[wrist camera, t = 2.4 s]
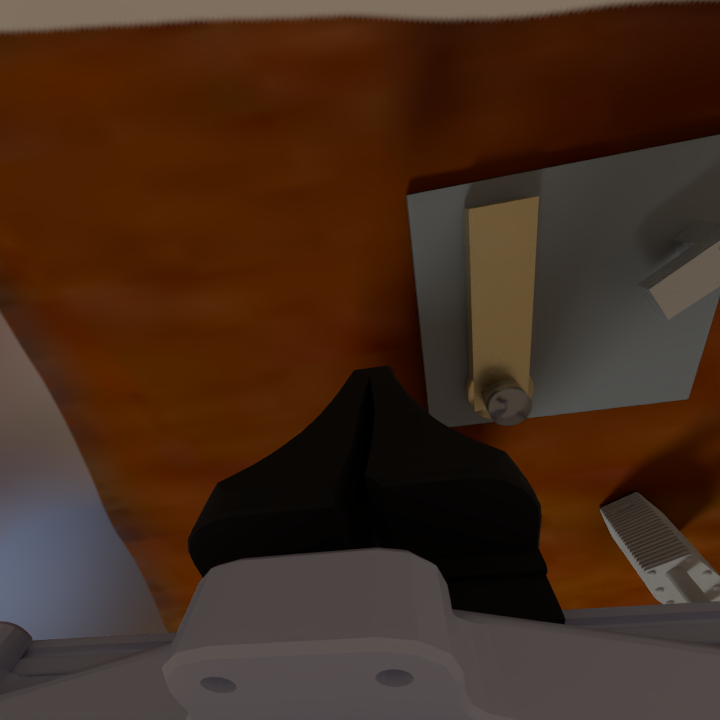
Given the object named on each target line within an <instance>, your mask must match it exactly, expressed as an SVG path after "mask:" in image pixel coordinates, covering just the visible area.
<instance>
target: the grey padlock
mask: <svg viewBox="0 0 720 720" xmlns="http://www.w3.org/2000/svg"><path fill="white" fill-rule="evenodd" d="M600 512H601V514H602V516H603V518H604V520H605V523H606V525H607V527H608V529H609V531H610V533H611V535H612V537H613V539H614V540H615V541H616V543H617V544H618V546H619V547H620V549H621V550H622V552H623V553H624V554H625V556H626V557H627V559H628V560H629V562H630V563H631V564H632V565H633V567H634V568H635V570H636V571H637V573H638V574H639V575H640V577H641V578H642V580H643V581H644V583H645V584H646V586H647V587H648V589H649V590H650V591H651V593H652V594H653V596H654V597H655V598H656V599H657V600H658V601H660V602H661V603H662V604H677V603H695V602H712V601H720V576H719V574H718V573H717V572H716V571H715V570H714V569H713V567H712V566H710V564H709V563H708V562H707V561H706V560H705V559H704V558H703V557H702V556H701V554H700V553H698V551H697V550H696V549H695V548H694V547H693V545H692V544H690V542H689V541H688V540H687V539H686V538H685V537H684V536H683V534H682V533H680V531H679V530H678V529H677V528H676V527H675V526H674V525H673V524H672V523H671V521H670V520H669V519H668V518H667V517H666V516H665V515H664V514H663V513H662V512H661V511H660V510H658V509H657V508H656V507H655V506H654V505H652V504H651V503H650V502H649V501H648V500H646V499H645V498H644V497H643V496H642V495H640V494H639V493H638V492H634V493H632V494H630V495H628V496H625V497H623V498H621V499H619V500H616V501H614V502H612V503H610V504H608V505H605V506H603V507H601V508H600Z"/></svg>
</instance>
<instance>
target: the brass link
mask: <svg viewBox="0 0 720 720" xmlns="http://www.w3.org/2000/svg"><path fill="white" fill-rule="evenodd" d="M538 206H539V196H527V197H522V198H516V199H511V200H506V201H500V202H495V203H490V204H484V205H479V206H474V207H468V208H463V218H464V245H465V273H466V300H467V328H468V355H469V375H468V377H467V379H466V382H465V394H466V396H467V398H468V401H469V403H470V405H471V407H472V409H473V410H474V411H475V412H476V413H477V414H478V415H480V416H482V417H484V418H488V419H492V418H491V417H490V415H489V413H488V411H487V409H486V407H485V405H484V403H483V395H484V392H485V391H486V389H487V388H488V387H489V386H490V385H491V384H493V383H495V382H497V381H500V380H512V381H515V382H517V383H518V384H519V385H520V386H521V387H522V388H523V390H524V391H525V392H526V394H527V395H528V396H529V397H530V399H532V396H533V393H534V384H533V381H532V379H531V377H530V376H529V370H530V352H531V334H532V315H533V297H534V279H535V260H536V242H537V224H538Z"/></svg>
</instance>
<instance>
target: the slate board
mask: <svg viewBox="0 0 720 720" xmlns="http://www.w3.org/2000/svg"><path fill="white" fill-rule="evenodd" d="M527 196H539V206H538V224H537V242H536V260H535V279H534V297H533V315H532V334H531V352H530V370H529V376H530V377H531V379H532V381H533V384H534V393H533V396H532V399H531V401H532V411H531V413H530V414H529V416H528V417H527V418H532V417H540V416H549V415H557V414H565V413H574V412H582V411H591V410H599V409H608V408H616V407H625V406H633V405H642V404H650V403H659V402H667V401H676V400H684V399H688V398H689V395H690V391H691V388H692V385H693V382H694V378H695V375H696V372H697V369H698V365H699V362H700V359H701V356H702V352H703V349H704V346H705V343H706V339H707V336H708V333H709V330H710V326H711V323H712V320H713V317H714V313H715V310H716V307H717V304H718V300H719V297H720V287H718V288H717V289H715V290H714V291H712V292H710V293H709V294H707V295H706V296H704V297H703V298H701V299H700V300H698V301H697V302H695V303H694V304H692V305H690V306H689V307H687V308H686V309H684V310H683V311H681V312H680V313H678V314H677V315H675V316H674V317H672V318H670V319H669V320H668V319H665V318H663V317H661V316H658V315H656V314H655V313H654V311H653V310H652V308H651V307H650V305H649V304H648V302H647V301H646V299H645V298H644V296H643V295H642V293H641V292H640V290H639V288H638V287H637V284H639V283H640V282H642V281H643V280H644V279H646V278H647V277H649V276H650V275H651V274H653V273H654V272H656V271H657V270H659V269H660V268H661V267H663V266H664V265H666V264H667V263H668V262H670V261H671V260H673V259H674V258H676V257H677V256H678V255H679V254H678V252H677V250H676V249H675V247H674V245H673V243H672V242H671V240H670V239H672V238H673V237H674V236H676V235H677V234H678V233H680V232H681V231H683V230H684V229H685V228H687V227H688V226H689V225H691V224H692V223H693V222H695V221H705V222H717V223H720V134H719V135H714V136H709V137H703V138H698V139H693V140H688V141H683V142H678V143H673V144H667V145H662V146H657V147H652V148H647V149H642V150H637V151H631V152H626V153H621V154H616V155H611V156H606V157H601V158H595V159H590V160H585V161H580V162H575V163H570V164H565V165H559V166H554V167H549V168H544V169H539V170H534V171H529V172H523V173H518V174H513V175H508V176H503V177H498V178H493V179H487V180H482V181H477V182H472V183H467V184H462V185H457V186H451V187H446V188H441V189H436V190H431V191H426V192H421V193H415V194H410V195H406V200H407V210H408V219H409V229H410V239H411V248H412V258H413V267H414V277H415V287H416V296H417V306H418V316H419V325H420V335H421V345H422V354H423V364H424V373H425V383H426V393H427V402H428V412H429V414H430V415H431V416H433V417H434V418H435V419H437V420H438V421H440V422H441V423H443V424H444V425H446V426H448V427H455V426H464V425H472V424H481V423H489V422H494V421H493V420H492V419H488V418H484V417H482V416H480V415H478V414H477V413H476V412H475V411H474V410H473V409H472V407H471V405H470V403H469V401H468V398H467V396H466V394H465V382H466V379H467V377H468V375H469V355H468V328H467V300H466V273H465V245H464V218H463V208H468V207H474V206H479V205H484V204H490V203H495V202H500V201H506V200H511V199H516V198H522V197H527Z"/></svg>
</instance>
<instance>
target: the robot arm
mask: <svg viewBox="0 0 720 720" xmlns="http://www.w3.org/2000/svg"><path fill="white" fill-rule="evenodd" d="M541 517H542V515H541V506H540V503H539V501H538V499H537V497H536V494H535V492H534V491H533V489H532V487H531V485H530V484H529V482H528V481H527V479H526V478H525V476H524V475H523V474H522V472H521V471H520V470H519V468H518V467H517V466H516V464H515V463H514V462H513V460H512V459H511V458H510V457H509V455H508V454H507V453H506V452H505V451H502V450H499V449H496V448H494V447H491V446H488V445H486V444H483V443H480V442H477V441H475V440H473V439H471V438H468V437H466V436H464V435H462V434H460V433H458V432H456V431H454V430H453V429H451V428H449V427H448V426H446V425H444V424H443V423H441V422H440V421H438V420H437V419H435V418H434V417H433V416H431V415H430V414H429V413H428V412H426V411H425V410H424V409H423V408H422V407H421V406H420V405H419V404H418V403H417V402H416V401H415V400H414V399H413V398H412V397H411V396H410V395H409V394H408V393H407V392H406V390H405V389H404V388H403V387H402V385H401V384H400V383H399V381H398V380H397V378H396V377H395V375H394V373H393V371H392V368H391V367H389V366H381V367H374V368H367V369H360V370H354V371H353V373H352V374H351V375H350V377H349V378H348V380H347V381H346V383H345V384H344V386H343V387H342V388H341V390H340V391H339V392H338V394H337V395H336V396H335V398H334V399H333V400H332V402H331V403H330V404H329V405H328V406H327V407H326V409H325V410H324V411H323V412H322V413H321V414H320V415H319V416H318V417H317V418H316V419H315V420H314V421H313V422H312V423H311V424H310V425H309V426H308V427H307V428H305V429H304V430H303V431H302V432H301V433H299V434H298V435H297V436H296V437H294V438H293V439H292V440H290V441H289V442H288V443H286V444H285V445H284V446H282V447H281V448H279V449H278V450H276V451H275V452H273V453H272V454H270V455H269V456H267V457H266V458H264V459H262V460H261V461H259V462H257V463H255V464H254V465H252V466H250V467H248V468H246V469H244V470H242V471H240V472H239V473H237V474H235V475H233V476H231V477H229V478H227V479H225V480H223V481H220V482H218V483H217V485H216V487H215V488H214V490H213V492H212V494H211V495H210V497H209V499H208V501H207V503H206V505H205V506H204V508H203V510H202V512H201V514H200V516H199V518H198V520H197V522H196V524H195V526H194V527H193V529H192V532H191V534H190V536H189V538H188V551H189V553H190V556H191V558H192V560H193V562H194V564H195V566H196V567H197V569H198V571H199V572H200V574H201V575H202V577H203V579H202V580H201V581H200V582H199V584H198V586H197V588H196V591H195V593H194V595H193V597H192V600H191V602H190V604H189V607H188V609H187V611H186V613H185V616H184V618H183V620H182V622H181V625H180V627H179V629H178V631H177V632H173V633H156V634H139V635H123V636H122V635H121V636H104V637H86V638H69V639H52V640H34V641H33V640H32V637H31V636H30V635H29V634H28V632H26V631H25V630H24V629H23V628H21V627H20V626H18V625H16V624H13V623H10V622H2V621H0V720H720V601H712V602H695V603H677V604H660V605H643V606H625V607H608V608H590V609H573V610H561V607H560V605H559V603H558V601H557V599H556V596H555V594H554V592H553V590H552V588H551V585H550V583H549V581H548V579H547V576H546V574H547V566H546V563H545V561H544V559H543V557H542V555H541V553H540V550H539V538H540V527H541Z"/></svg>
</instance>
